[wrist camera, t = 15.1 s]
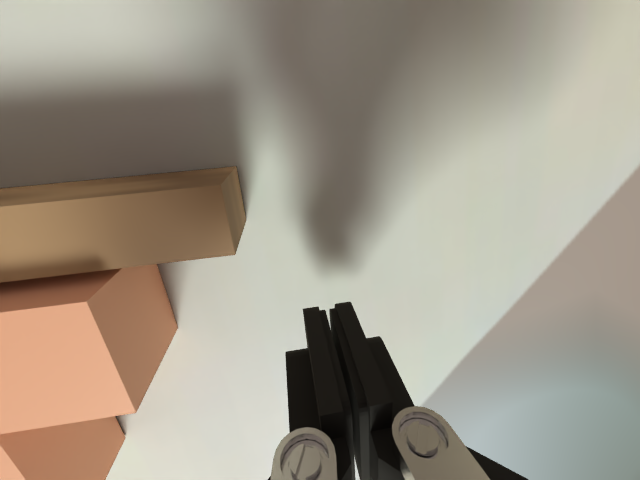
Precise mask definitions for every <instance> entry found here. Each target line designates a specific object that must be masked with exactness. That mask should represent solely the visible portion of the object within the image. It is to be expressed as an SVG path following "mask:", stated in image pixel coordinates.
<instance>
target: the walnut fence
mask: <svg viewBox="0 0 640 480" xmlns="http://www.w3.org/2000/svg"><path fill="white" fill-rule="evenodd" d="M245 222H246V216H245V211H244V205H243V200H242V195H241V189H240V184H239V178H238V173H237V167H236V166H234V167H224V168H213V169H202V170H192V171H181V172H170V173H160V174H149V175H139V176H128V177H117V178H107V179H96V180H86V181H75V182H64V183H54V184H43V185H32V186H22V187H11V188H1V189H0V283H1V282H9V281H18V280H26V279H34V278H43V277H51V276H60V275H68V274H77V273H85V272H93V271H102V270H110V269H119V268H127V267H136V266H144V265H152V264H161V263H169V262H178V261H186V260H195V259H203V258H211V257H220V256H228V255H235V254H236V251H237V247H238V244H239V241H240V238H241V235H242V232H243V229H244V226H245Z"/></svg>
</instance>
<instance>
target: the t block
mask: <svg viewBox="0 0 640 480" xmlns="http://www.w3.org/2000/svg"><path fill="white" fill-rule="evenodd" d="M177 329H178V327H177V324H176V321H175V318H174V315H173V312H172V308H171V305H170V302H169V299H168V296H167V293H166V290H165V287H164V284H163V281H162V278H161V275H160V272H159V269H158V266H157V264H152V265H144V266H136V267H127V268H119V269H110V270H102V271H93V272H85V273H77V274H68V275H60V276H51V277H43V278H34V279H26V280H18V281H9V282H1V283H0V480H105V479H106V477H107V475H108V473H109V471H110V469H111V467H112V465H113V463H114V461H115V459H116V456H117V454H118V452H119V450H120V448H121V446H122V444H123V442H124V440H125V436H124V434H123V432H122V429H121V427H120V425H119V423H118V421H117V419H116V417H115V416H119V415H125V414H132V413H136V412H137V410H138V408H139V406H140V404H141V402H142V400H143V398H144V396H145V394H146V392H147V389H148V387H149V385H150V383H151V381H152V379H153V377H154V375H155V373H156V371H157V369H158V367H159V365H160V363H161V361H162V359H163V357H164V355H165V353H166V351H167V349H168V347H169V345H170V343H171V341H172V339H173V337H174V335H175V333H176V331H177Z"/></svg>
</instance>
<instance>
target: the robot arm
mask: <svg viewBox="0 0 640 480" xmlns="http://www.w3.org/2000/svg"><path fill="white" fill-rule="evenodd" d="M303 314H304V322H305V330H306V338H307V347H308V348H306V349H300V350H294V351H288V352H286V371H287V390H288V409H289V428H290V433H289V434H288V435H287V436H286V437H284V438H283V439H282V440H281V442H280V444H279V445H278V447H277V449H276V452H275V455H274V459H273V465H272V473H271V476H270V477H269V479H268V480H355V464H354V456H355V460H356V464H357V469H358V473H359V477H360V480H528V479H526V478H525V477H523V476H521V475H519V474H517V473H515V472H513V471H511V470H509V469H508V468H506V467H504V466H502V465H500V464H498V463H496V462H495V461H493V460H490V459H489V458H487V457H485V456H483V455H481V454H480V453H478V452H476V451H474V450H472V449H470V448H468V447H466V446H465V445H464V444H463V442H462V441H461V440H460V438H459V437H458V435H457V434H456V433H455V431H454V430H453V429H452V427H451V426H450V425H449V424H448V422H447V421H446V420H445V419H444V418H443V417H442V416H441V415H439V414H437V413H436V412H434V411H433V410H430V409H428V408H425V407H418V406H414V404H413V402H412V400H411V398H410V396H409V394H408V392H407V390H406V388H405V386H404V383H403V381H402V379H401V377H400V375H399V373H398V371H397V369H396V367H395V365H394V363H393V361H392V359H391V357H390V355H389V353H388V351H387V349H386V347H385V345H384V342H383V341H382V339H381V338H380V337H379V336H378V337H372V338H366V337H365V335H364V332H363V330H362V327H361V325H360V323H359V320H358V318H357V316H356V313H355V311H354V308H353V306H352V304H351V302H345V303H338V304H335V308H333V309H330V324H331V330H330V326H329V322H328V319H327V315H326V311H325V310H320V311H319V307H312V308H305V309H303Z"/></svg>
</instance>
